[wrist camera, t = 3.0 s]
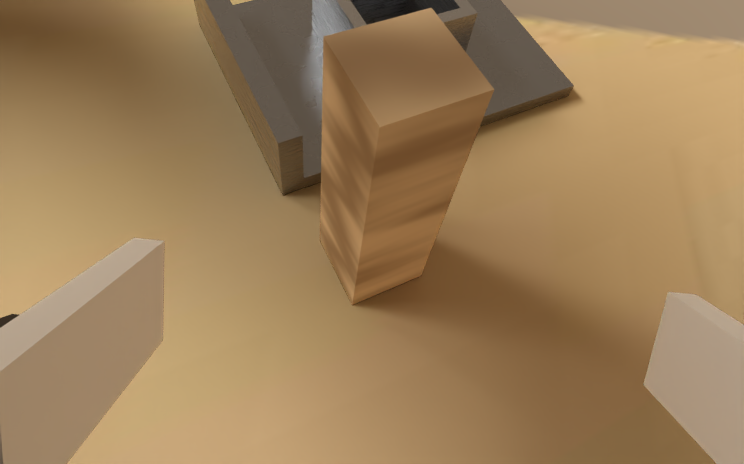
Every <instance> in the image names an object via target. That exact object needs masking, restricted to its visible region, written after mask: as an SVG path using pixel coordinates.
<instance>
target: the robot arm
mask: <svg viewBox="0 0 744 464" xmlns="http://www.w3.org/2000/svg"><path fill="white" fill-rule="evenodd" d="M163 308H164V241H161V240H151V239H142V238H133V239H131V240H130V241H128V242H127V243H125V244H124V245H122V246H121V247H119V248H118V249H116V250H115V251H113V252H112V253H110V254H109V255H108V256H106V257H105V258H103V259H102V260H100V261H99V262H97V263H96V264H94V265H93V266H91V267H90V268H88V269H87V270H85V271H84V272H82V273H81V274H79V275H78V276H76V277H75V278H73V279H72V280H71V281H69V282H68V283H66V284H65V285H63V286H62V287H60V288H59V289H57V290H56V291H54V292H53V293H51V294H50V295H48V296H47V297H45V298H44V299H42V300H41V301H39V302H38V303H36V304H35V305H33V306H32V307H31V308H29V309H28V310H26V311H25V312H23V313H22V314H20V315H17V314H11V315H8V316H5V317H3V318H0V464H67V463H68V461H69V460H70V459H71V458H72V456H73V455H74V454H75V452H76V451H77V450H78V449H79V447H80V446H81V445H82V443H83V442H84V441H85V440H86V438H87V437H88V436H89V434H90V433H91V432H92V431H93V429H94V428H95V427H96V425H97V424H98V423H99V422H100V420H101V419H102V418H103V416H104V415H105V414H106V413H107V411H108V410H109V409H110V408H111V406H112V405H113V404H114V402H115V401H116V400H117V399H118V397H119V396H120V395H121V393H122V392H123V391H124V390H125V388H126V387H127V386H128V384H129V383H130V382H131V381H132V379H133V378H134V377H135V375H136V374H137V373H138V372H139V370H140V369H141V368H142V366H143V365H144V364H145V363H146V361H147V360H148V359H149V357H150V356H151V355H152V354H153V352H154V351H155V350H156V348H157V347H158V346H159V345H160V343H161V342H162V341H163ZM643 385H644V386H645V387H646V388H647V389H648V390H649V392H650V393H651V394H652V395H653V396H654V397H655V398H656V399H657V400H658V401H659V402H660V403H661V404H662V406H663V407H664V408H665V409H666V410H667V411H668V412H669V413H670V414H671V415H672V416H673V417H674V418H675V420H676V421H677V422H678V423H679V424H680V425H681V426H682V427H683V428H684V429H685V430H686V431H687V432H688V434H689V435H690V436H691V437H692V438H693V439H694V440H695V441H696V442H697V443H698V444H699V445H700V446H701V448H702V449H703V450H704V451H705V452H706V453H707V454H708V455H709V456H710V457H711V458H712V459H713V460H714V462H715V463H716V464H744V325H743V324H742V323H740V322H739V321H737V320H735V319H734V318H732V317H731V316H729V315H728V314H726V313H724V312H723V311H721V310H720V309H718V308H717V307H715V306H713V305H712V304H710V303H709V302H707V301H706V300H704V299H702V298H701V297H699V296H698V295H696V294H686V293H676V292H668V294H667V298H666V301H665V305H664V309H663V313H662V316H661V320H660V324H659V328H658V331H657V335H656V339H655V343H654V346H653V350H652V354H651V358H650V361H649V365H648V369H647V373H646V376H645V380H644V384H643Z"/></svg>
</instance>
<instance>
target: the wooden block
mask: <svg viewBox="0 0 744 464" xmlns="http://www.w3.org/2000/svg"><path fill="white" fill-rule="evenodd" d="M493 92H494V88H493V87H492V86H491V84H490V83H489V82H488V80H487V79H486V78H485V77H484V75H483V74H482V73H481V71H480V70H479V69H478V67H477V66H476V65H475V64H474V62H473V61H472V60H471V58H470V57H469V56H468V54H467V53H466V52H465V51H464V49H463V48H462V47H461V45H460V44H459V43H458V41H457V40H456V39H455V37H454V36H453V35H452V34H451V32H450V31H449V30H448V28H447V27H446V26H445V24H444V23H443V22H442V21H441V19H440V18H439V17H438V15H437V14H436V13H435V11H434V10H433V9H432V8H428V9H424V10H421V11H417V12H413V13H409V14H406V15H402V16H398V17H395V18H391V19H387V20H383V21H380V22H376V23H372V24H368V25H365V26H361V27H357V28H353V29H350V30H346V31H342V32H338V33H335V34H331V35H327V36H323V88H322V149H321V210H320V242H321V244H322V246H323V248H324V250H325V252H326V254H327V256H328V258H329V260H330V262H331V264H332V266H333V268H334V270H335V272H336V274H337V276H338V278H339V280H340V282H341V284H342V286H343V288H344V290H345V292H346V294H347V296H348V298H349V300H350V302H351V304H352V305H354V304H356V303H358V302H361V301H363V300H365V299H368V298H370V297H372V296H375V295H377V294H379V293H382V292H384V291H386V290H389V289H391V288H393V287H396V286H398V285H400V284H403V283H405V282H407V281H410V280H412V279H415V278H417V277H419V276H421V275H422V272H423V270H424V267H425V265H426V262H427V260H428V257H429V254H430V252H431V249H432V247H433V244H434V242H435V239H436V237H437V234H438V232H439V229H440V227H441V224H442V221H443V219H444V216H445V214H446V211H447V209H448V206H449V204H450V201H451V199H452V196H453V193H454V191H455V188H456V186H457V183H458V181H459V178H460V176H461V173H462V171H463V168H464V165H465V163H466V160H467V158H468V155H469V153H470V150H471V148H472V145H473V143H474V140H475V137H476V135H477V132H478V130H479V127H480V125H481V122H482V120H483V117H484V115H485V112H486V109H487V107H488V104H489V102H490V99H491V97H492V94H493Z"/></svg>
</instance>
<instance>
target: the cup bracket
mask: <svg viewBox="0 0 744 464" xmlns="http://www.w3.org/2000/svg"><path fill="white" fill-rule="evenodd" d="M194 2H195V6H196V11H197V16H198V20H199V25H200V27H201V29H202V31H203V33H204V35H205V37H206V39H207V41H208V43H209V45H210V47H211V49H212V52H213V54H214V56H215V58H216V60H217V62H218V64H219V66H220V68H221V70H222V72H223V74H224V76H225V78H226V80H227V82H228V84H229V86H230V88H231V90H232V92H233V95H234V97H235V99H236V101H237V103H238V105H239V107H240V109H241V111H242V113H243V115H244V117H245V119H246V121H247V123H248V125H249V127H250V129H251V131H252V133H253V135H254V137H255V140H256V142H257V144H258V146H259V148H260V150H261V152H262V154H263V156H264V158H265V160H266V162H267V164H268V166H269V168H270V170H271V172H272V174H273V176H274V178H275V180H276V183H277V185H278V187H279V189H280V191H281V193H282V195H284V194H287V193H290V192H293V191H296V190H299V189H302V188H304V187H307V186H310V185H313V184H316V183H319V182H321V149H322V88H323V36H327V35H331V34H335V33H338V32H342V31H346V30H350V29H353V28H357V27H361V26H365V25H368V24H372V23H376V22H380V21H383V20H387V19H391V18H395V17H398V16H402V15H406V14H409V13H413V12H417V11H421V10H424V9H428V8H432V9H433V10H434V11H435V13H436V14H437V15H438V17H439V18H440V19H441V21H442V22H443V23H444V24H445V26H446V27H447V28H448V30H449V31H450V32H451V34H452V35H453V36H454V37H455V39H456V40H457V41H458V43H459V44H460V45H461V47H462V48H463V49H464V51H465V52H466V53H467V54H468V56H469V57H470V58H471V60H472V61H473V62H474V64H475V65H476V66H477V67H478V69H479V70H480V71H481V73H482V74H483V75H484V77H485V78H486V79H487V80H488V82H489V83H490V84H491V86H492V87H493V88H494V92H493V94H492V97H491V99H490V102H489V104H488V107H487V109H486V112H485V115H484V117H483V120H482V122H481V125H480V126H482V125H485V124H488V123H491V122H494V121H497V120H500V119H503V118H505V117H508V116H511V115H514V114H517V113H520V112H523V111H526V110H528V109H531V108H534V107H537V106H540V105H543V104H546V103H548V102H551V101H554V100H557V99H560V98H563V97H566V96H568V95H569V93H570V91H571V90H572V88H573V84H572V83H571V82H570V81H569V80H568V79H567V77H566V76H565V75H564V74H563V73H562V72H561V70H560V69H559V68H558V67H557V66H556V64H555V63H554V62H553V61H552V60H551V59H550V57H549V56H548V55H547V54H546V53H545V52H544V50H543V49H542V48H541V47H540V46H539V45H538V43H537V42H536V41H535V40H534V39H533V38H532V36H531V35H530V34H529V33H528V32H527V31H526V29H525V28H524V27H523V26H522V25H521V24H520V22H519V21H518V20H517V19H516V18H515V17H514V15H513V14H512V13H511V12H510V11H509V10H508V8H507V7H506V6H505V5H504V4H503V3H502V1H501V0H253V1H248V2H244V3H240V4H236V5H232V3H231V2H230V0H194Z"/></svg>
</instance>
